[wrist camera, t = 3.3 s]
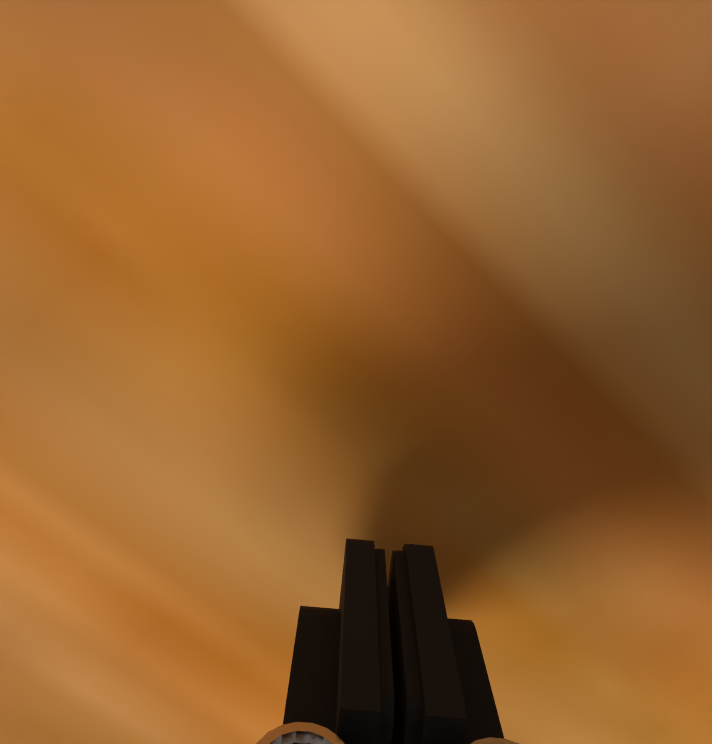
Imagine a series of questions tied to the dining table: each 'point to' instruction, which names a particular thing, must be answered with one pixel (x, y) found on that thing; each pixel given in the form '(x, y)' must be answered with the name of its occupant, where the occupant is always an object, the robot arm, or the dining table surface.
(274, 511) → the dining table surface
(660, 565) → the dining table surface
